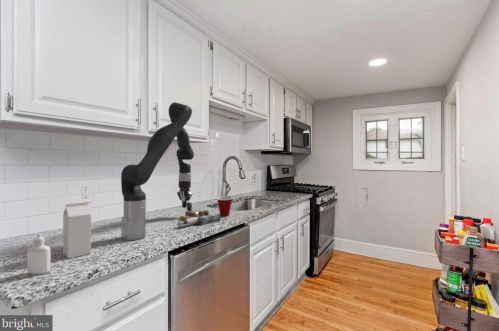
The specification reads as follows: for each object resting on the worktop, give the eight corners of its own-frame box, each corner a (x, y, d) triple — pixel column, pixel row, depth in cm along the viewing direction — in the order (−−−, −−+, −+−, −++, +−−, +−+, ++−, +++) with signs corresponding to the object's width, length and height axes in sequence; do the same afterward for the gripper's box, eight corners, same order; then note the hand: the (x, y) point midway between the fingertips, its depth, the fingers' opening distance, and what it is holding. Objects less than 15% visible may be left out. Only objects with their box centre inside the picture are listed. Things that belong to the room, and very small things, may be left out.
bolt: (195, 216, 151) (195, 204, 151) (185, 214, 157) (185, 202, 157) (199, 215, 153) (199, 203, 153) (189, 213, 159) (189, 201, 159)
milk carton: (90, 253, 95) (91, 203, 94) (68, 259, 89) (68, 205, 89) (85, 249, 99) (85, 201, 99) (62, 254, 94) (63, 203, 94)
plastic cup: (212, 216, 163) (213, 197, 163) (221, 213, 173) (221, 195, 173) (227, 217, 159) (228, 198, 159) (235, 214, 169) (235, 196, 169)
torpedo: (181, 228, 131) (181, 216, 130) (175, 227, 133) (175, 214, 133) (205, 222, 146) (205, 210, 145) (199, 221, 148) (200, 209, 148)
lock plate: (202, 225, 139) (202, 214, 139) (178, 219, 152) (178, 209, 152) (220, 221, 150) (220, 210, 150) (196, 215, 163) (197, 206, 163)
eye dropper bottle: (36, 277, 75) (36, 237, 75) (25, 273, 78) (25, 234, 77) (52, 271, 79) (52, 233, 79) (41, 268, 82) (42, 231, 81)
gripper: (173, 179, 161) (173, 207, 161) (186, 181, 153) (186, 209, 153) (183, 179, 167) (182, 205, 167) (196, 180, 159) (195, 208, 159)
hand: (184, 207), depth 160 cm, fingers closed
